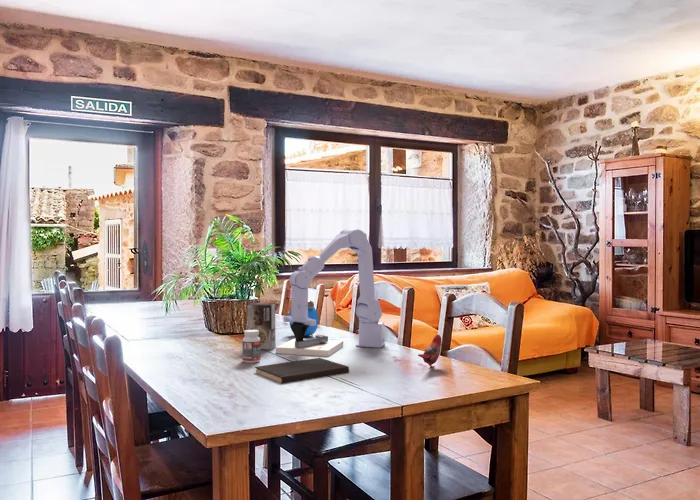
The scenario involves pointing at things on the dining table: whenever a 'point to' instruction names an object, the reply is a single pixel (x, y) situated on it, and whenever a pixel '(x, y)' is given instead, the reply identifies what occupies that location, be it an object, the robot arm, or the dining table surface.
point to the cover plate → (310, 348)
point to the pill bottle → (251, 346)
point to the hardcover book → (301, 370)
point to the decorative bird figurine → (432, 351)
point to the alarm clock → (312, 315)
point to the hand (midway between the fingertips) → (299, 344)
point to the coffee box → (263, 323)
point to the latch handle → (311, 341)
